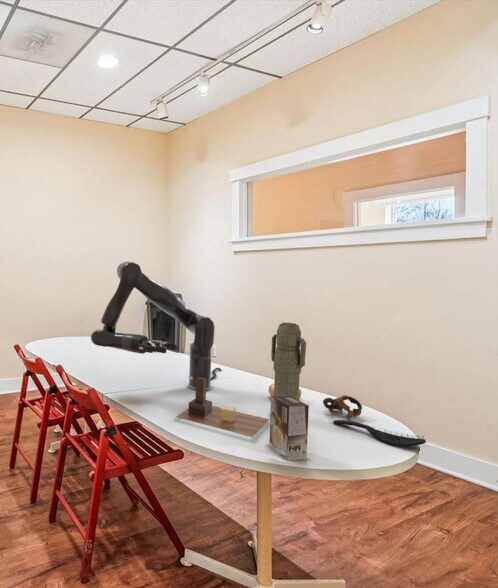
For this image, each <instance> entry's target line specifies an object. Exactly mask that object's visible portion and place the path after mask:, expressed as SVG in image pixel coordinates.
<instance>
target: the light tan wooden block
mask: <svg viewBox="0 0 498 588" xmlns="http://www.w3.org/2000/svg"><path fill="white" fill-rule="evenodd" d="M221 408H222V409H221V420H224V421H229V422H233V421H234V419H235V411H236V407H232V406H228V405H222V407H221Z"/></svg>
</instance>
